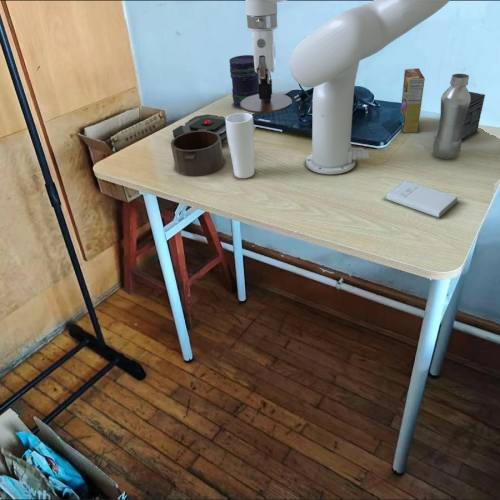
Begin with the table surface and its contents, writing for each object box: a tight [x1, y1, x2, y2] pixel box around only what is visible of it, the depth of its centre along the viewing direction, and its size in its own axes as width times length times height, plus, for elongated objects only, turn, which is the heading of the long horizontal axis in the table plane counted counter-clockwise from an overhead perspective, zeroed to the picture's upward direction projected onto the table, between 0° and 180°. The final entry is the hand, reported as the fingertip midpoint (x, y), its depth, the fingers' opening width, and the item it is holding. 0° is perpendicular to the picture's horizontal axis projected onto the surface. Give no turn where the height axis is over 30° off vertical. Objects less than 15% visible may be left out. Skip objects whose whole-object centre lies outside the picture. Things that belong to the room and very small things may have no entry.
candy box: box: [400, 68, 426, 134], centre depth 128 cm, size 9×4×15 cm, turn 172°
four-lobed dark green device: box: [171, 113, 228, 144], centre depth 138 cm, size 18×18×5 cm
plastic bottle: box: [432, 73, 471, 160], centre depth 110 cm, size 6×7×20 cm
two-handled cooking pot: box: [170, 129, 224, 177], centre depth 121 cm, size 13×18×7 cm
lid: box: [240, 92, 293, 114], centre depth 122 cm, size 14×14×6 cm
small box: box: [437, 91, 486, 142], centre depth 123 cm, size 11×6×10 cm, turn 129°
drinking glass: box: [225, 112, 256, 179], centre depth 112 cm, size 7×7×15 cm
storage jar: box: [228, 54, 259, 110], centre depth 154 cm, size 10×10×15 cm
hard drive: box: [385, 180, 459, 218], centre depth 100 cm, size 2×8×12 cm
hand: (265, 96), depth 122 cm, fingers closed on lid, 2 cm apart
